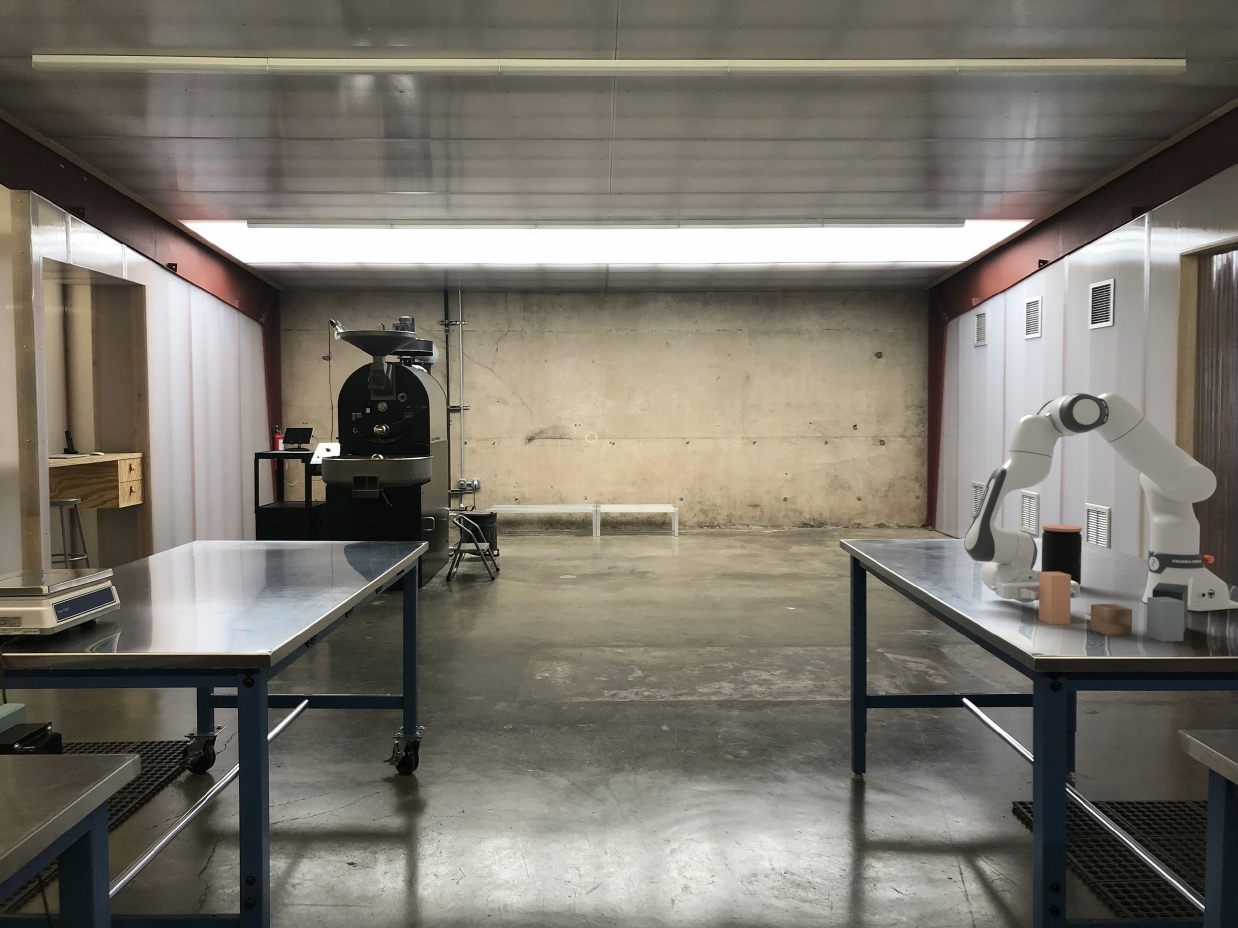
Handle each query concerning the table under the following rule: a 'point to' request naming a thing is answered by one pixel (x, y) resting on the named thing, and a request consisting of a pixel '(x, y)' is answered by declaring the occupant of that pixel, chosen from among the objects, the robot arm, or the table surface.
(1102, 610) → the walnut block
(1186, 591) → the small box
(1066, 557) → the coffee jar
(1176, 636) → the slate block
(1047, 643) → the table surface
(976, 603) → the table surface
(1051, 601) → the terracotta block
